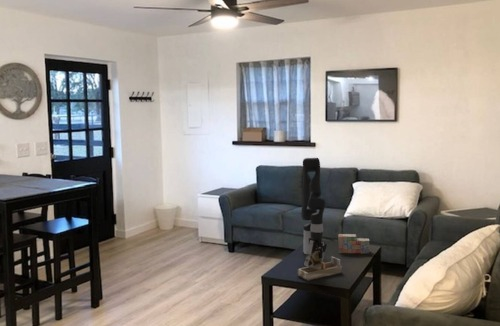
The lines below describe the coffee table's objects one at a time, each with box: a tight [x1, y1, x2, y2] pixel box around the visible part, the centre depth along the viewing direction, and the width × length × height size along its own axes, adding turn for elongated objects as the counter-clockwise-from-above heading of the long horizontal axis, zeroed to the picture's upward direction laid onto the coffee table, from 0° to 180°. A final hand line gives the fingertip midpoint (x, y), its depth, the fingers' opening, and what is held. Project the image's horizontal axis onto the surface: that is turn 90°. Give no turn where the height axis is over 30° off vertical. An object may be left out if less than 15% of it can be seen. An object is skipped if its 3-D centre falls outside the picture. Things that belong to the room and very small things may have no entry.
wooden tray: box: [297, 256, 343, 282], centre depth 291 cm, size 10×26×8 cm, turn 119°
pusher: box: [316, 261, 326, 271], centre depth 291 cm, size 7×1×7 cm, turn 29°
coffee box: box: [303, 240, 328, 270], centre depth 288 cm, size 9×6×16 cm
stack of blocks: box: [337, 233, 370, 254], centre depth 333 cm, size 21×6×12 cm, turn 80°
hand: (316, 256), depth 289 cm, fingers closed on coffee box, 7 cm apart
